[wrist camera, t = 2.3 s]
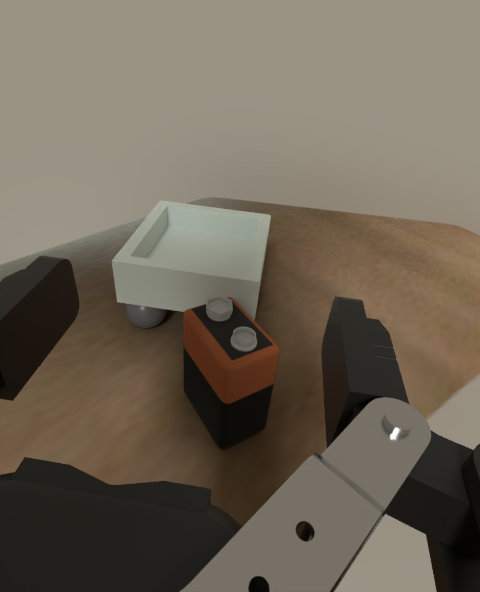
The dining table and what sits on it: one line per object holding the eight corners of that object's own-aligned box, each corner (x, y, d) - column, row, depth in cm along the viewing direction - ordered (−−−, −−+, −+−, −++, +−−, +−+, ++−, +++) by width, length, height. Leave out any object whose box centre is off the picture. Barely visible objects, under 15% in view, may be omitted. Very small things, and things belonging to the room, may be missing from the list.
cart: (250, 352, 38) (259, 281, 33) (121, 333, 38) (111, 260, 33) (262, 276, 49) (270, 215, 44) (162, 262, 50) (159, 200, 45)
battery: (225, 373, 35) (232, 283, 30) (267, 430, 31) (286, 337, 25) (181, 391, 33) (180, 298, 27) (220, 454, 29) (228, 359, 23)
